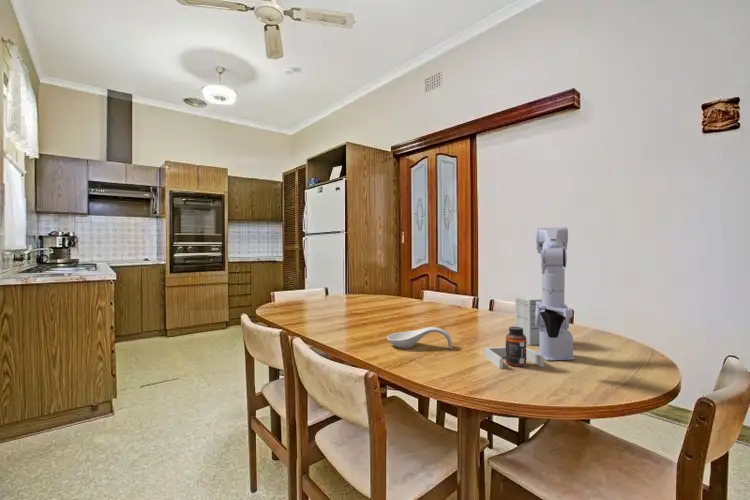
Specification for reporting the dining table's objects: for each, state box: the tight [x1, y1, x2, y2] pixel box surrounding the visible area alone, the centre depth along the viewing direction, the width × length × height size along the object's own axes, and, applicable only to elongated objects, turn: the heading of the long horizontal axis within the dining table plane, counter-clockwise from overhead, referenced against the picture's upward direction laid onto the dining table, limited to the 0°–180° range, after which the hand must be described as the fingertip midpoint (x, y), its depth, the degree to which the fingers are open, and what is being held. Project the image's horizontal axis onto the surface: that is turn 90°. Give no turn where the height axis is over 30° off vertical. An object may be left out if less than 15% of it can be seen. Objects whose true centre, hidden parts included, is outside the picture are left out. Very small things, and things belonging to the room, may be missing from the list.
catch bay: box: [483, 346, 545, 369], centre depth 111 cm, size 14×11×3 cm
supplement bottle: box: [505, 326, 527, 368], centre depth 108 cm, size 6×6×11 cm
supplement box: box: [514, 295, 542, 346], centre depth 134 cm, size 10×9×17 cm
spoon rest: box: [386, 326, 453, 350], centre depth 128 cm, size 24×12×7 cm, turn 81°
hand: (552, 337), depth 101 cm, fingers closed
